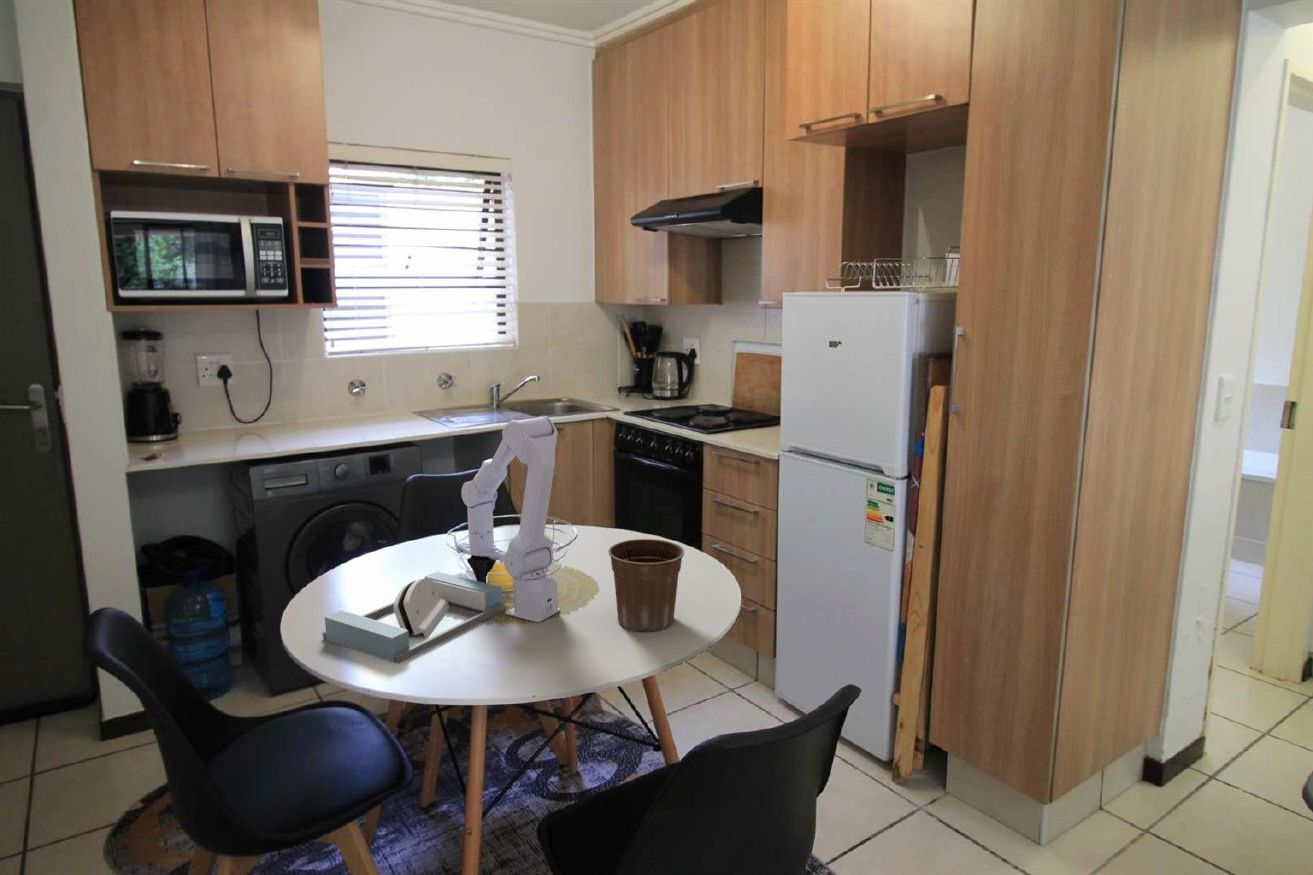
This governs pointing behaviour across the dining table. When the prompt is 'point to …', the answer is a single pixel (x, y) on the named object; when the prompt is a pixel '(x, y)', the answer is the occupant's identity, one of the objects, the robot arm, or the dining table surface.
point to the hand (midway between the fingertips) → (483, 585)
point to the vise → (387, 633)
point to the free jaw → (466, 591)
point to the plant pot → (646, 582)
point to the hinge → (420, 607)
